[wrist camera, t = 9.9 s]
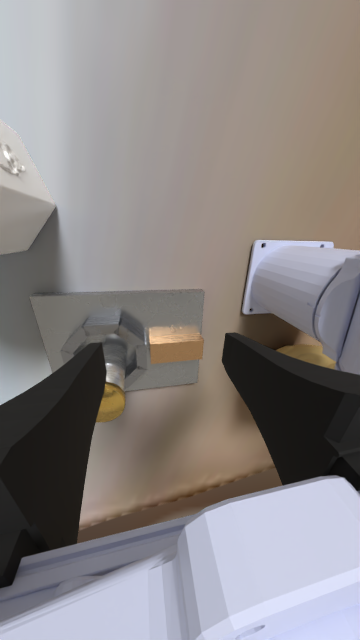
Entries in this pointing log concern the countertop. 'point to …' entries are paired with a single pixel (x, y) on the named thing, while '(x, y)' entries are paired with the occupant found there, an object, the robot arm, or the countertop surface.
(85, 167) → the countertop surface
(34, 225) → the jar
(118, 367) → the gold-capped vial
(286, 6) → the countertop surface
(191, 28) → the countertop surface
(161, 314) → the rosette plate
